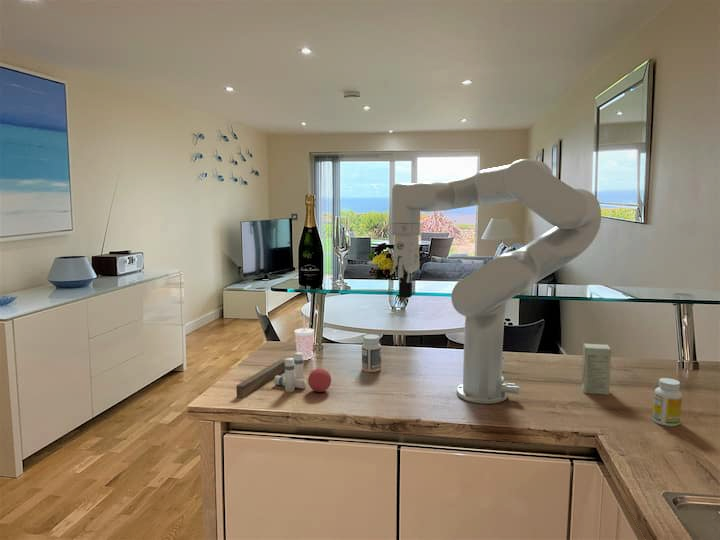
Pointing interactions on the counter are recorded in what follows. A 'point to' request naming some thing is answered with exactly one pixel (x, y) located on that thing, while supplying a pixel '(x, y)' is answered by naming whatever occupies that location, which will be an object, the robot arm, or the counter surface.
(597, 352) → the skincare box
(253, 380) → the back rail
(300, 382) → the pin front
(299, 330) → the beverage cup
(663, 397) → the supplement bottle
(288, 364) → the pin rear left
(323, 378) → the ball
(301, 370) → the pin rear right
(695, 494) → the counter surface
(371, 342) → the pill bottle
